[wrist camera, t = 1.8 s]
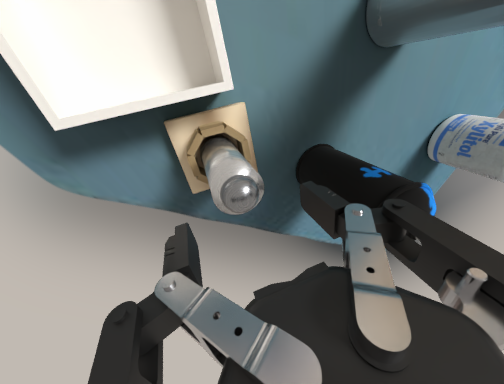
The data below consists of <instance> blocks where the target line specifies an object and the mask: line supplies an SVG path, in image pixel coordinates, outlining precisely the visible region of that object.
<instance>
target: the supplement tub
mask: <svg viewBox="0 0 504 384" xmlns="http://www.w3.org/2000/svg"><path fill="white" fill-rule="evenodd" d="M428 156H429V157H430V158H431V159H432V160H434V161H437V162H440V163H443V164H446V165H449V166H452V167H455V168H459V169H462V170H465V171H468V172H472V173H475V174H478V175H481V176H484V177H488V178H491V179H494V180H497V181H500V182H504V119H501V118H493V117H484V116H475V115H466V114H458V115H454V116H452V117H450V118H448V119H446V120H445V121H444V122H443V123H442V124H441V125H440V126H439V127H438V128H437V129H436V130H435V132H434V133H433V135H432V137H431V139H430V141H429V145H428Z"/></svg>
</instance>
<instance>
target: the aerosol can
mask: <svg viewBox="0 0 504 384" xmlns="http://www.w3.org/2000/svg"><path fill="white" fill-rule="evenodd" d="M296 176H297V180H298V182H299V183H300V184H303V183H306V182H309V181H312V182H314V183H315V184H316V185H321V186H324V187H327V188H329V189H330V190H331V191H332V192H334V193H336V195H339V196H340V197H342V198H343V199H345V200H346V201H348V202H349V203H351V204H363V205H365V206H367V207H369V208H370V209H373V208H381V207H383V204H384V202H385V201H386V200H388V199H401V200H405V201H407V202H409V203H411V204H413V205H414V206H416V207H418V208H420V209H422V210H424V211H425V212H427V213H429V214H431V215H433V216H435V213H436V204H435V200H434V197H433V192H432V189H431V188H430V187H429V186H428V185H427V184H425V183H421V182H413V181H410V180H408V179H405V178H403V177H401V176H398V175H396V174H393V173H391V172H389V171H386V170H384V169H381V168H379V167H377V166H374V165H372V164H369V163H367V162H364V161H362V160H360V159H357V158H355V157H352V156H350V155H348V154H345V153H343V152H340V151H338V150H335V149H334V148H333V147H332V146H330V145H328V144H318V145H315V146H313V147H311V148H309V149H308V150H307V151H306V152H305V153H304V154H303V155H302V157H301V158H300V160H299V162H298V165H297V168H296ZM405 235H407V236H408V237H409V238H411V239H412V240H416V239H418V238H417V237H415V236H414V235H412V234H411V233H409V232H408V231H406V234H405ZM418 240H419V239H418ZM419 241H420V240H419Z"/></svg>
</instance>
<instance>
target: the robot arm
mask: <svg viewBox="0 0 504 384" xmlns="http://www.w3.org/2000/svg"><path fill="white" fill-rule="evenodd" d="M366 20H367V28H368V31H369V34H370V36H371V38H372V40H373V41H374V42H375V43H376V44H377V45H379V46H381V47H391V46H396V45H402V44H407V43H412V42H419V41H424V40H429V39H435V38H440V37H445V36H451V35H456V34H461V33H467V32H472V31H477V30H483V29H488V28H493V27H499V26H504V0H368V4H367V14H366ZM300 198H301V205H302V207H303V209H304V210H305V211H306V212H307V213H308V214H309V215H310V216H311V217H312V218H313V219H314V220H315V221H316V222H317V223H318V224H319V225H320V226H321V227H322V228H323V229H324V230H325V231H326V232H327V233H328V234H329V235H330V236H331V237H332V238H333V239H336V238H338V237H341V238H342V253H343V267H336V266H331V267H328V266H327V265H326V264H325V263H324V262H322V263H319V264H317V265H315V266H313V267H310V268H308V269H306V270H305V271H304V272H303V273H301V274H300V275H299V276H298V277H296V278H295V279H294V280H292V281H288V282H281V283H276V284H271V285H268V286H266V287H264V288H261V289H259V290H257V291H255V292H253V293H254V296H255V299H253V300H252V301H251V302H250V303H249V304H248V305H247V307H246V308H245V309H243V308H242V307H240V306H238V305H237V304H235V303H234V302H232V301H230V300H229V299H227V298H226V297H224V296H223V295H221V294H220V293H218V292H216V291H215V290H213V289H212V288H209V287H207V288H206V289H204V288H203V285H202V277H201V269H200V259H199V251H198V245H197V242H196V240H195V237H194V235H193V233H192V231H191V229H190V227H189V224H188V223H185V224H182V225H179V226H176V227H175V235H174V236H171V237H169V239H168V240H167V242H166V244H165V255H164V256H165V257H164V265H163V277H162V278H161V279H160V280H159V281H158V283H157V285H156V287H155V291H154V292H153V293H152V294H151V295H149V296H148V297H147V298H145V299H144V300H142V301H141V302H139V303H138V304H136V303H135V302H133V301H127V302H124V303H122V304H120V305H118V306H117V307H116V308H114V309H113V310H112V311H111V312H110V313H109V315H108V316H107V318H106V319H105V322H104V324H103V328H102V331H101V335H100V339H99V343H98V347H97V350H96V355H95V358H94V362H93V366H92V370H91V373H90V377H89V381H88V384H163V339H165V338H166V337H167V336H168V335H170V334H171V333H172V332H173V331H175V330H176V329H177V328H178V327H181V328H182V329H183V330H184V331H185V332H186V333H187V334H188V335H190V336H191V337H192V338H193V339H194V340H195V341H196V342H197V343H198V344H199V345H201V346H202V347H203V348H204V349H205V350H206V352H207V353H208V354H209V355H210V356H211V357H212V358H213V359H214V360H215V361H216V362H217V363H219V364H220V365H221V366H222V367H223V369H222V372H221V375H220V378H219V381H218V384H504V354H503V353H502V350H504V255H503V254H501V253H500V252H498V251H496V250H494V249H492V248H490V247H488V246H487V245H485V244H483V243H482V242H480V241H478V240H476V239H474V238H472V237H471V236H469V235H467V234H465V233H463V232H461V231H459V230H458V229H456V228H454V227H452V226H451V225H449V224H447V223H445V222H443V221H442V220H440V219H438V218H436V217H434V216H433V215H431V214H429V213H427V212H425V211H424V210H422V209H420V208H418V207H416V206H414V205H413V204H411V203H409V202H407V201H405V200H401V199H388V200H386V201H385V202H384V204H383V207H381V208H373V209H370V208H369V207H367V206H365V205H363V204H351V203H349V202H348V201H346V200H345V199H343V198H342V197H340V196H339V195H336V193H334V192H332V191H331V190H330V189H329V188H327V187H324V186H321V185H316V184H315V183H314V182H312V181H309V182H306V183H303V184H301V185H300ZM406 231H408V232H409V233H411V234H412V235H414V236H415V237H417V238H418V239H419V240H420V242H421V244H422V246H421V245H419V244H418V243H416V242H415V241H414V240H412V239H411V238H409V237H408V236H407V235H405V234H406ZM385 248H386V249H387V250H388V251H389V252H391V253H392V254H393V255H394V256H395V257H396V258H397V259H399V260H400V261H401V262H402V263H403V264H404V265H406V266H407V267H408V268H409V269H410V270H411V271H413V272H414V273H415V274H416V275H417V276H418V277H420V278H421V279H422V280H423V281H424V282H425V283H427V284H428V285H429V286H430V287H431V288H432V289H433V290H435V291H436V292H437V293H438V296H439V298H440V300H441V301H442V303H443V304H442V303H440V302H437V301H434V300H431V299H429V298H426V297H423V296H421V295H418V294H415V293H412V292H410V291H407V290H405V289H402V288H399V287H397V286H395V284H394V280H393V277H392V273H391V269H390V265H389V262H388V258H387V254H386V251H385Z"/></svg>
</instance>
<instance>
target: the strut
mask: <svg viewBox="0 0 504 384" xmlns="http://www.w3.org/2000/svg"><path fill="white" fill-rule="evenodd" d="M199 152H200V157H201V161H202V164H203V166H204V168H205V172H206V176H207V179H208V183H209V187H210V190H211V194H212V197H213V201H214V203H215V205H216V206H217V207H218V209H220V210H221V211H223V212H225V213H227V214H232V215H238V214H243V213H246V212H248V211H250V210H252V209H253V208H254V207H255V206H256V205H257V204H258V203H259V202H260V200H261V199H262V196H263V193H264V183H263V180H262V178H261V176H260V175H259V174H258V173H257V171H256V170H255V169H254V168H253V167H252V166H251V165H250V163H249V162H248V161H247V160H246V159H245V158H244V157H243V155H242V154H241V153H240V152H239V151H238V150H237V148H236V147H235V145H234V144H233V143H232V142H231V141H230V139H229V138H227V137H226V136H224V135H221V134H215V135H212V136H208V137H206V138H205V139H204V140H203V141H202V143H201V145H200V149H199Z"/></svg>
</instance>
